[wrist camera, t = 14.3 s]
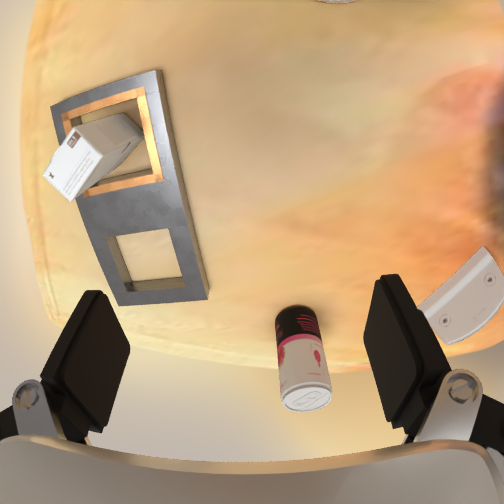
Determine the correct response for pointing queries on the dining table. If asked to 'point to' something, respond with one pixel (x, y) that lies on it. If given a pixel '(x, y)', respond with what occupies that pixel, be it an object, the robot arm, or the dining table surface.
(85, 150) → the skincare box
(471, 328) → the white curved block
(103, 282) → the dining table surface
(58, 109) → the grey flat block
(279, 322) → the beverage can
